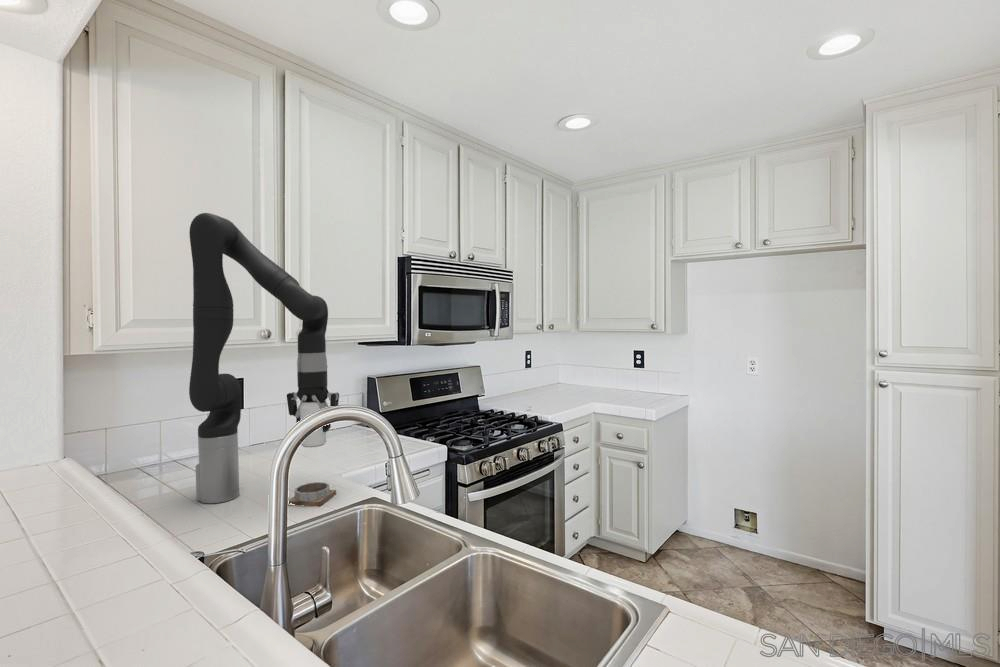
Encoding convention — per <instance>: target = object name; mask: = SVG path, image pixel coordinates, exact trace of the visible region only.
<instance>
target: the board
mask: <svg viewBox="0 0 1000 667" xmlns="http://www.w3.org/2000/svg"><path fill="white" fill-rule="evenodd" d="M318 491H321V490H314V491H308V492H304V493H311V492H318ZM334 495H335V496H336V495H337V489H330V495H328V496H327V497H326V498H323V499H320V500H315V501H298V500H296V499H295V495H294V496H293V497H291V498H290V499H288V500H289V504H290V503H292V504H295V505H304V506H303V507H313V506H318V508H320V507H322V506H323V505H324V504H325V502H326V503H327V502H329V500H331V499H332V498H333V497H335V496H334ZM330 498H331V499H330ZM321 505H322V506H321Z"/></svg>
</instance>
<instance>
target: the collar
mask: <svg viewBox="0 0 1000 667" xmlns="http://www.w3.org/2000/svg"><path fill="white" fill-rule="evenodd" d="M314 490H321V491H318V492H311V493H304V492H308V491H314ZM330 490H331V487H330V483H328V482H322V481H321V482H318V481H317V482H309V483H304V484H301V485H299V486H297V487H295V488H294V496H295V499H296V500H298V501H315V500H320V499H323V498H326V497H327V496H328V495H330Z"/></svg>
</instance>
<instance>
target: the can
mask: <svg viewBox="0 0 1000 667" xmlns="http://www.w3.org/2000/svg"><path fill="white" fill-rule="evenodd" d="M322 406H325V403H322ZM319 407H320V406H318V403H317V402H302V405H301V407H300V420H301V419H303V418H304V417H306V416H307V415H309V414H311V413H313V412H315V411H317V410H319V409H320V408H319ZM326 444H327V432H323V427H321V428H320V429H318V430H317V431H315V432H313V433H312V434H311V435H309V436H308V437H307V438H306V439H305V441H304V442H303V443H302V444H301V443H300V445H301V446H302V447H304V448H316V447H322V446H324V445H326Z"/></svg>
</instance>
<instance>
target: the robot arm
mask: <svg viewBox="0 0 1000 667" xmlns="http://www.w3.org/2000/svg"><path fill="white" fill-rule="evenodd" d="M189 242H190V244H189V245H190V251H191V252H190V253H191V257H192V258H191V260H192V273H193V274H192V278H193V279H192V280H193V282H192V286H193V288H192V289H193V292H192V294H193V298H192V299H193V301H192V302H193V303H192V323H193V324H192V326H193V335H192V338H193V339H192V340H193V341H192V361H191V369H190V370H191V371H190V376H189V386H188V387H189V388H188V390H189V391H188V394H189V400H190V404H192V406H193V408H194V409H196V411H199V412H203V413H206V412H209V413H208V415H207V418H206V419H205V420H203V421H202V422H201V423H200V424H199V425H198V427H197V443H198V444H197V445H198V463H196V465H195V488H196V489H195V490H196V491H195V492H196V494H195V495H196V497H195V498H196V501H197V502H198V501H199V502H201V503H202V504H218V503H224V502H228V501H231V500H234V499H236V498H237V497H239V496H240V472H239V471H240V470H239V469H240V466H239V438H238V434H239V432H238V427H239V424H240V421H241V413H242V389H241V385H240V382H239V380H238V378H236V377H235V376H234V375H232V374H231V373H220V372H219V370H220V369H219V368H220V358H221V356H222V355H221V354H222V351H223V350H224V348H225V345H226V344H227V342H228V340H229V337H230V335H231V333H232V330H233V326H234V299H233V295H232V292H231V289H230V286H229V284H228V282H227V279H226V278H227V277H226V276H225V273H224V264H223V258H224V257H223V256H224V255H225V256H226V257H229V258H231V260H233V261H235V262H236V263H237V264H239V265H240V266H241V267H243V268H244V269H245V270H246V272H247V273H248V274H249V275H250V276H251V277H252V279H253V280H254V281H255V282H256V283H257V284H258V285H259V286H260V287H262V288H263V289H264V290H265V291H267V292H268V293H269V294H270V295H271V296H273V297H274V298H275V299H277V300H279V302H281V304H282V305H283V306H284V307H285V308H286V309H287V310H288V311H289V312H290V313H291V314H292V315H293V316H295V317H296V318H297V319H299V320H301V321H302V322H301V323H302V326H301V331H300V332H299V333H298V334H297V360H296V369H297V374H296V375H297V378H296V379H297V388H298V390H297V392H294V391H292V392H289V393H287V394H286V400H287V409H288V415H289V416H293V417H295V418H296V422H295V423H297V422H298V421H300V407H301V405H302V402H317V403H318V406H320V407H319V408H320V409H322V408H325V407H328V408H330V406H337V405H338V406H339V399H340V394H339V392H330V391H329V390H328V358H327V352H326V351H327V349H326V347H327V346H326V343H327V342H326V332H327V326H328V321H329V319H328V318H329V308H328V304H327V302H326V301H325V299H324V298H323V297H321V296H318V295H312V294H311V293H309V292H308V291H306V290H305V289H304V288H303V287H302V286H301V285H300V283H299V281H297V279H296V278H295V277H293V276H292V275H291V274H289V273H288V272H287V271H286V270H284V269H283V268H282V267H281V266H279V265H278V264H277V263H276V262H274V261H273V260H272V259H270V258H269V257H268V256H266V255H265V254H263V252H261V251H260V250H259V249H258V248H257V247H256V246H255V245H254V244H253V243H252V242H251V241H250V240H249V239H248V238H247V237H246V236H245V235H244V233H243V232H242V231H241V230H240V229H239V228H238V227H237V226H236V224H234V222H232V221H230V220H229V219H227V218H225V217H222V216H219V215H216V214H214V213H210V212H202V213H199V214H197V215H196V216H195V217H194V218H193V219H192V220H191V223H190V226H189ZM298 399H299V401H300V402H299V404H298V402H297V400H298ZM327 399H328V400H329V402H330V403H329V404H330V405H328V403H327ZM322 403H325V406H322ZM330 429H331V424H329V425H326V426H323V432H326V433H327V432H328V431H329V430H330Z"/></svg>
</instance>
